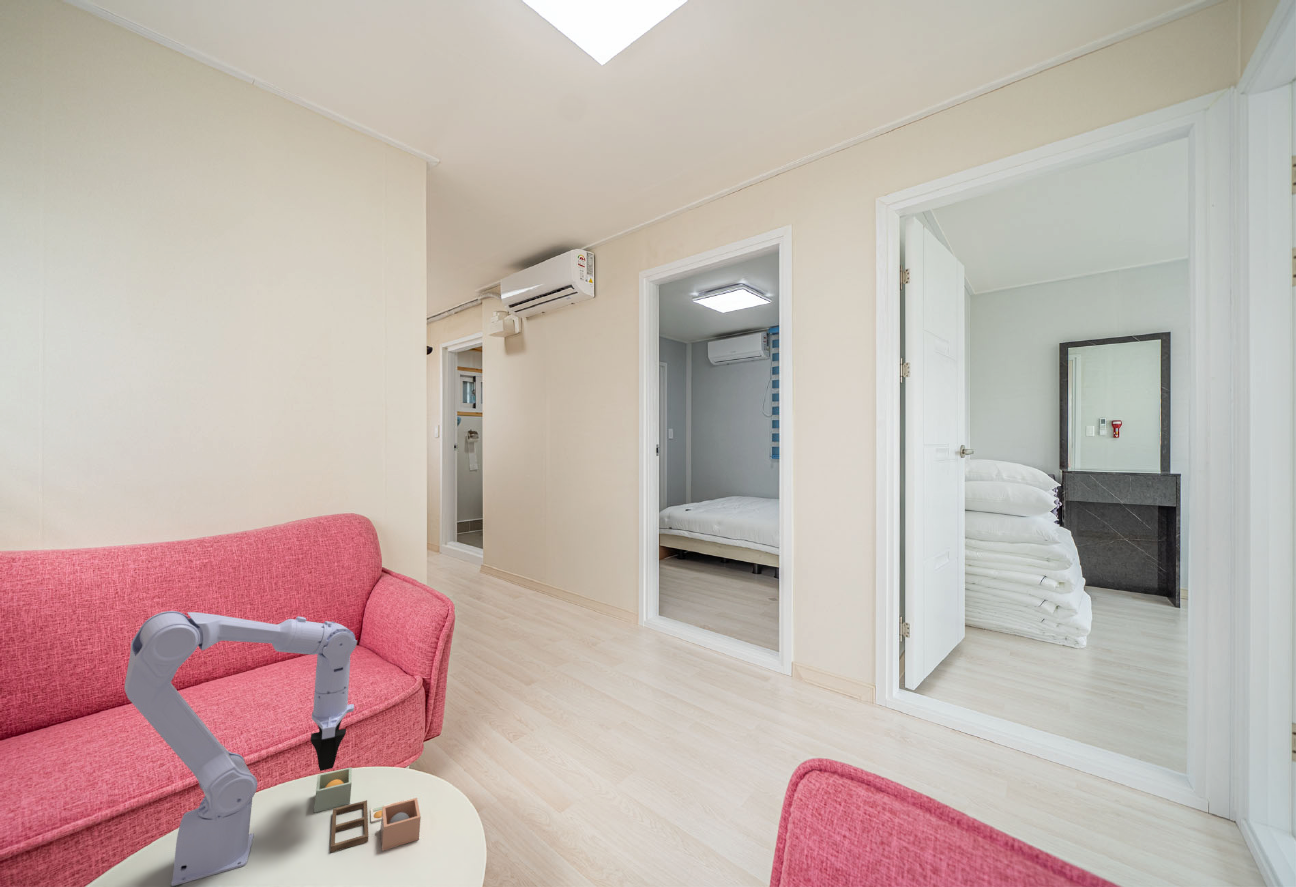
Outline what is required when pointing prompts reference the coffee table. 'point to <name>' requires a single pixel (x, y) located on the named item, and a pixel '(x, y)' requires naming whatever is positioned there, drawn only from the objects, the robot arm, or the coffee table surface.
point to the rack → (349, 826)
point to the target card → (378, 812)
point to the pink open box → (400, 824)
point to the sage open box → (333, 790)
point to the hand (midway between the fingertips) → (327, 758)
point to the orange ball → (334, 783)
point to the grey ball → (399, 817)
